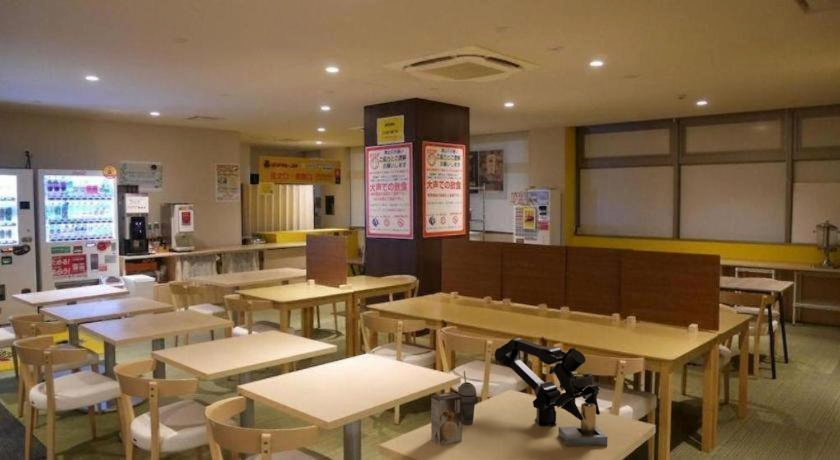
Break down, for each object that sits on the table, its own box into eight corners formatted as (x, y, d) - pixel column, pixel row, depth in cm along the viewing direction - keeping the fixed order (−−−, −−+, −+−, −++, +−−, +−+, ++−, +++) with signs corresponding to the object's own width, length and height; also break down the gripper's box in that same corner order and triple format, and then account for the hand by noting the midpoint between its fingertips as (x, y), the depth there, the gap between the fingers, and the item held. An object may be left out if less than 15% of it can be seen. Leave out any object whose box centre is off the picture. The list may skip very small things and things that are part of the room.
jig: (568, 446, 206) (568, 438, 206) (558, 435, 216) (558, 426, 216) (607, 445, 207) (607, 436, 207) (595, 433, 217) (596, 425, 217)
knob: (578, 440, 211) (579, 405, 210) (582, 435, 215) (583, 401, 215) (592, 443, 208) (593, 408, 208) (596, 439, 213) (597, 404, 212)
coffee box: (452, 434, 216) (453, 391, 215) (462, 441, 210) (462, 396, 209) (430, 439, 211) (430, 394, 211) (439, 446, 206) (439, 400, 205)
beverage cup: (475, 427, 222) (475, 374, 221) (455, 426, 224) (456, 373, 223) (477, 420, 229) (478, 369, 228) (458, 419, 231) (459, 367, 230)
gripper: (562, 371, 208) (587, 411, 200) (596, 362, 219) (621, 400, 211) (544, 387, 215) (568, 427, 207) (578, 378, 226) (602, 415, 218)
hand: (590, 417), depth 211 cm, fingers open, 9 cm apart
